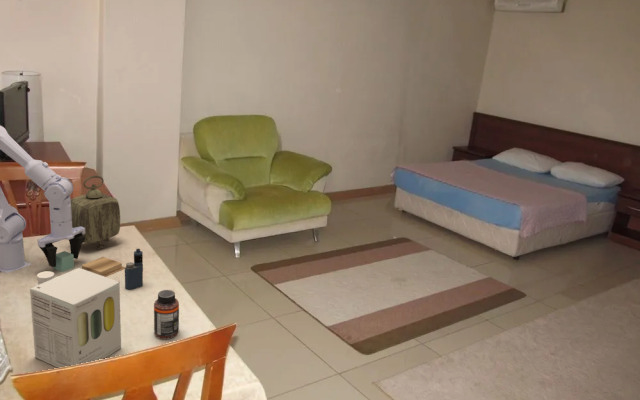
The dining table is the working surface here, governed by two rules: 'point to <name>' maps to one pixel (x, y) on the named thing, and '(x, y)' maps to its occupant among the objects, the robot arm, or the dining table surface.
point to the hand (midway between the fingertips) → (63, 261)
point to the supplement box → (76, 318)
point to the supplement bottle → (166, 315)
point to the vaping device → (134, 272)
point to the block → (64, 261)
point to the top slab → (102, 266)
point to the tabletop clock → (96, 214)
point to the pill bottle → (44, 277)
